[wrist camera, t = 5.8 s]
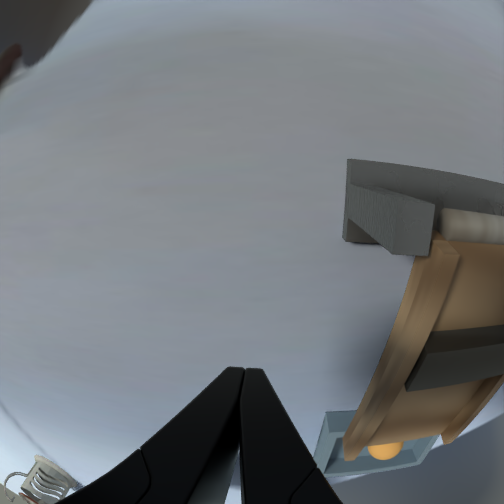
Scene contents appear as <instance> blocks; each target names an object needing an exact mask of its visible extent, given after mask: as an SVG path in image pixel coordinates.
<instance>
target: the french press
mask: <svg viewBox="0 0 504 504" xmlns="http://www.w3.org/2000/svg"><path fill="white" fill-rule="evenodd" d="M34 458H35V461H36V462H35V464H34V465H33V467H32V468H31V470H30V471H29V473H28V474H25V473H21V472H14V473H11V474H10V475H8V476H7V478H6V479H5V481H4V491H5V494H6V496H7V498H8V500H9V501H11V502H12V501H13V500H14V498H15V497H13V498H12V499H10V498H9V497H8V495H7V493H6V490H5V486H6V482H7V481H8V479H9V478H10V477H12V476H14V475H21V476H24V477H27V478H26V480H25V481H24V483H23V484H22V486H21V489H22V490H23V492H24V493H25V494H27V495H28V496H27V495H25V494H23V493H19V496H20V497H21V498H22V499H23V500H25V501H26V502H27V503H29V504H54V503H56V502H58V501H60V500H62V499H64V498H65V496H66V494H67V493H68V491H69V489H70V488H71V487H77V483H76V481H75V480H74V479H73V478H72V477H71V476H70V475H69V474H68V473H67V472H65V471H64V470H63V469H61V468H60V467H59V466H57V465H56V464H54V463H53V462H51V461H50V460H48V459H46V458H44V457H42V456H39V455H35V456H34ZM15 473H21V474H15ZM37 473H38V475H39V477H40V478H41V479H42V480H43V481H42V480H41V479H40V478H39V477H38V476H37V475H36V474H37ZM22 474H24V475H22ZM26 475H27V476H26ZM34 477H35V479H36V480H37V482H38V483H39V484H40V485H41V486H40V485H39V484H37V483H36V482H35V481H34ZM31 482H32V483H33V484H34V485H35V487H36V488H37V489H38V490H40V491H42V492H44V493H48V494H53V495H56V496H58V497H59V498H60V499H59V500H58V499H57V498H55V497H52V496H49V495H46V494H43V493H41V492H39V491H37V490H36V489H34V488H33V486H32V484H31ZM54 485H55V486H54ZM42 486H43V487H42ZM57 486H59V487H62V488H64V489H65V490H64V491H63V489H61V488H59V487H57ZM44 487H45V488H44ZM46 488H47V489H46ZM49 489H52V490H56V491H59V492H61V493H62V495H60V494H59V493H57V492H55V491H52V490H49ZM31 492H32V493H33V494H35V495H36V496H38V497H39V498H41V499H39V498H37V497H35V496H34V495H33V494H32V493H31Z"/></svg>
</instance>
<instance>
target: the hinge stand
mask: <svg viewBox="0 0 504 504" xmlns="http://www.w3.org/2000/svg"><path fill="white" fill-rule="evenodd" d="M443 208H449V209H456V210H464V211H471V212H478V213H485V214H491V215H498V216H504V184H501V183H497V182H493V181H489V180H484V179H480V178H475V177H470V176H465V175H460V174H455V173H450V172H444V171H438V170H433V169H427V168H420V167H414V166H407V165H400V164H392V163H384V162H376V161H367V160H357V159H347V180H346V197H345V211H344V224H343V235H342V238H343V239H344V240H345V241H346V242H364V243H380V244H381V245H382V246H383V247H384V248H385V249H387V250H388V251H389V252H390V253H391V254H395V255H418V256H428V253H429V247H430V241H431V234H432V230H436V231H437V218H438V215H439V213H440V211H441V210H442V209H443Z"/></svg>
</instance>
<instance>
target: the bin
mask: <svg viewBox="0 0 504 504" xmlns="http://www.w3.org/2000/svg"><path fill="white" fill-rule="evenodd" d="M355 413H356V411H342V412H326V414H325V418H324V422H323V425H322V429H321V433H320V436H319V440H318V443H317V447H316V450H315V453H314V457H313V459H314V460H315V462H316V464H317V468H320V470H321V472H322V473H323V475H324V477H339V476H350V475H360V474H368V473H375V472H381V471H388V470H394V469H399V468H404V467H410V466H414V465H419V464H421V462H422V461H423V459H424V458H425V457H426V455H427V454H428V452H429V451H430V449H431V448H432V446H433V444H434V443H435V441H436V440H437V438H438V437H439V435H440V434H438V435H434V436H429V437H425V438H420V439H414V440H409V441H404V444H403V447H402V449H401V451H400V452H399V453H398V454H397V455H396V456H395V457H393V458H391V459H388V460H379V459H376V458H374V457H373V456H372V455H371V454H370V453H369V451H368V446H366V447H364V448H363V449H362V451H361V452H360V453H359V455H358V456H357V457H356V459H355V460H352V461H344V450H343V440H342V438H343V436H344V434H345V432H346V431H347V429H348V427H349V425H350V423H351V421H352V419H353V417H354V415H355Z"/></svg>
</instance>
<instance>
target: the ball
mask: <svg viewBox="0 0 504 504" xmlns="http://www.w3.org/2000/svg"><path fill="white" fill-rule="evenodd" d="M403 444H404V441H403V442H397V443H390V444H383V445H375V446H368V451H369V453H370V454H371V455H372V456H373V457H374V458H376V459H379V460H388V459H391V458H393V457H395V456H396V455H397V454H398V453H399V452H400V451H401V449H402V447H403Z"/></svg>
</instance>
